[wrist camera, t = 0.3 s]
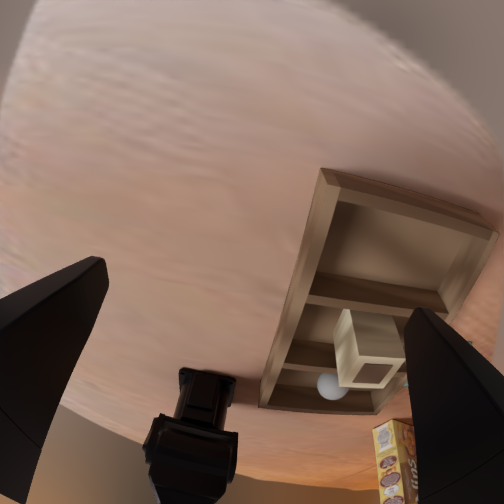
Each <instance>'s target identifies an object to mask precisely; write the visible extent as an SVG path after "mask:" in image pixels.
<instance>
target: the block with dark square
mask: <svg viewBox="0 0 504 504" xmlns="http://www.w3.org/2000/svg"><path fill="white" fill-rule="evenodd" d="M333 339H334V347H335V354H336V363H337V371H338V380H339V387H355V388H384V387H385V386H386V384H387V383H388V382H389V381H390V379H391V378H392V377H393V376H394V374H395V373H396V372H397V370H398V369H399V368H400V366H401V365H402V364H403V362H404V361H405V360H406V359H405V353H404V349H403V346H402V343H401V340H400V337H399V334H398V331H397V328H396V325H395V322H394V319H393V317H392V315H387V314H379V313H372V312H364V311H357V310H349V309H343V311H342V313H341V315H340V318H339V320H338V322H337V324H336V326H335V328H334V331H333Z"/></svg>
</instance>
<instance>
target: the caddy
mask: <svg viewBox="0 0 504 504" xmlns="http://www.w3.org/2000/svg"><path fill="white" fill-rule="evenodd" d="M499 234H500V233H499V232H498V231H497V230H496V229H495V228H494V227H493V226H492V225H490V224H489V223H488V222H487V221H486V220H485V219H484V218H483V217H482V216H481V215H480V214H479V213H476V212H473V211H470V210H468V209H465V208H462V207H459V206H456V205H453V204H450V203H447V202H444V201H441V200H438V199H435V198H432V197H429V196H426V195H423V194H419V193H416V192H413V191H409V190H406V189H402V188H399V187H395V186H392V185H388V184H385V183H381V182H377V181H373V180H370V179H366V178H362V177H358V176H354V175H350V174H345V173H341V172H337V171H332V170H328V169H323V168H320V171H319V176H318V180H317V184H316V188H315V192H314V196H313V200H312V204H311V208H310V212H309V216H308V220H307V224H306V228H305V232H304V235H303V239H302V243H301V247H300V250H299V254H298V258H297V261H296V265H295V269H294V272H293V276H292V280H291V283H290V287H289V290H288V294H287V297H286V301H285V304H284V307H283V311H282V314H281V318H280V321H279V324H278V328H277V331H276V334H275V338H274V341H273V344H272V347H271V351H270V354H269V357H268V360H267V363H266V367H265V370H264V373H263V376H262V379H261V382H260V392H259V402H258V408H266V409H274V410H283V411H293V412H304V413H318V414H337V415H377V414H378V413H379V412H380V411H381V410H382V409H383V408H384V407H385V406H386V405H387V404H388V402H389V401H390V400H391V399H392V398H393V397H394V396H395V395H396V393H397V392H398V391H399V390H400V389H401V388H402V387H403V385H404V384H405V383H406V382H407V373H406V360H405V361H404V362H403V364H402V365H401V366H400V368H399V369H398V370H397V372H396V373H395V374H394V376H393V377H392V378H391V379H390V381H389V382H388V383H387V384H386V386H385V387H384V388H355V387H349V390H348V392H347V393H346V394H345V395H344V396H343V397H342V398H340V399H337V400H329V399H326V398H324V397H323V396H322V395H321V394H320V393H319V391H318V388H317V382H318V379H319V377H320V375H321V374H322V373H331V374H338V371H337V363H336V354H335V347H334V339H333V331H334V328H335V326H336V324H337V322H338V320H339V318H340V315H341V313H342V311H343V309H349V310H357V311H364V312H372V313H379V314H387V315H392V317H393V319H394V322H395V325H396V328H397V331H398V334H399V337H400V340H401V343H402V346H403V349H404V353H405V347H404V337H403V331H404V327H405V325H406V323H407V321H408V320H409V318H410V316H411V314H412V312H413V311H414V309H415V308H416V307H419V306H420V307H428V308H430V309H431V310H432V311H433V312H435V313H436V314H437V315H438V316H439V317H440V318H441V319H443V320H444V321H445V322H446V323H447V324H448V325H449V324H450V323H451V321H452V320H453V318H454V317H455V315H456V314H457V312H458V310H459V309H460V307H461V306H462V304H463V302H464V301H465V299H466V297H467V296H468V294H469V292H470V291H471V289H472V287H473V285H474V284H475V282H476V280H477V278H478V276H479V275H480V273H481V271H482V269H483V267H484V265H485V263H486V261H487V259H488V257H489V255H490V253H491V251H492V249H493V247H494V245H495V243H496V241H497V239H498V237H499Z"/></svg>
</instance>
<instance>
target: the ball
mask: <svg viewBox="0 0 504 504" xmlns="http://www.w3.org/2000/svg"><path fill="white" fill-rule="evenodd" d="M317 388H318V391H319V393H320V394H321V395H322V396H323V397H324V398H326V399H329V400H337V399H340V398H342V397H343V396H344V395H345V394H346V393H347V392H348V390H349V387H339V380H338V374H331V373H322V374H321V375H320V377H319V379H318V382H317Z"/></svg>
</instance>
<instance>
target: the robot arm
mask: <svg viewBox="0 0 504 504" xmlns="http://www.w3.org/2000/svg"><path fill="white" fill-rule="evenodd" d="M108 288H109V278H108V272H107V267H106V262H105V260H104V259H103V258H101V257H96V256H90V257H88V258H85V259H83V260H81V261H79V262H77V263H74V264H72V265H70V266H68V267H66V268H63V269H61V270H59V271H57V272H55V273H53V274H50V275H48V276H46V277H44V278H42V279H40V280H38V281H36V282H34V283H32V284H30V285H28V286H26V287H23V288H21V289H19V290H17V291H15V292H13V293H11V294H9V295H7V296H5V297H4V298H2V299H0V494H2V495H4V496H6V497H8V498H10V499H12V500H14V501H16V502H18V503H20V504H25V503H26V501H27V496H28V493H29V489H30V486H31V483H32V479H33V475H34V472H35V469H36V466H37V463H38V460H39V457H40V454H41V451H42V450H41V449H42V447H43V444H44V441H45V439H46V436H47V433H48V430H49V428H50V425H51V422H52V420H53V417H54V415H55V412H56V410H57V407H58V405H59V402H60V400H61V397H62V395H63V393H64V390H65V388H66V386H67V383H68V381H69V379H70V376H71V374H72V372H73V370H74V367H75V365H76V363H77V361H78V359H79V357H80V355H81V352H82V350H83V348H84V346H85V344H86V342H87V340H88V338H89V336H90V334H91V331H92V329H93V327H94V324H95V321H96V319H97V316H98V313H99V311H100V308H101V306H102V303H103V301H104V298H105V296H106V293H107V291H108ZM403 337H404V347H405V359H406V373H407V382H408V389H409V395H410V402H411V410H412V418H413V426H414V436H415V447H416V461H417V480H418V500H419V501H418V504H504V376H503V375H502V374H501V373H500V372H499V371H498V370H497V369H496V368H495V367H494V366H493V365H492V364H491V363H490V362H489V361H488V360H487V359H486V358H485V357H483V356H482V355H481V354H480V353H479V352H478V351H477V350H476V349H475V348H474V347H473V346H472V345H471V344H469V343H468V342H467V341H466V340H465V339H464V338H463V337H462V336H461V335H460V334H458V333H457V332H456V331H455V330H454V329H453V328H452V327H451V326H449V325H448V324H447V323H446V322H445V321H444V320H443V319H441V318H440V317H439V316H438V315H437V314H436V313H435V312H433V311H432V310H431V309H430V308H428V307H420V306H419V307H416V308H415V309H414V311H413V312H412V314H411V316H410V318H409V320H408V321H407V323H406V325H405V327H404V331H403ZM235 383H236V380H235V379H233V378H228V377H223V376H217V375H212V374H207V373H202V372H197V371H193V370H188V369H184V368H181V369H180V370H179V386H180V395H179V399H178V402H177V406H176V410H175V413H174V417H173V418H172V417H169V416H166V415H165V414H162V413H160V415H159V417H157V418H154V420H153V423H152V426H151V429H150V431H149V433H148V436H147V438H146V440H145V442H144V444H143V447H142V449H143V451H144V452H145V457H146V464H149V465H150V469H149V474H148V475H149V480H150V485H151V488H152V490H153V493H154V496H155V498H156V501H157V504H215V503H216V502H217V501H218V500H219V499H220V498H221V497H222V496H223V495H224V493H225V491H226V486H227V484H230V483H231V482H232V480H233V478H234V474H235V470H236V464H237V449H238V432H229V431H224V425H225V419H226V413H227V407H230V406H231V402H232V398H233V393H234V388H235Z"/></svg>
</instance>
